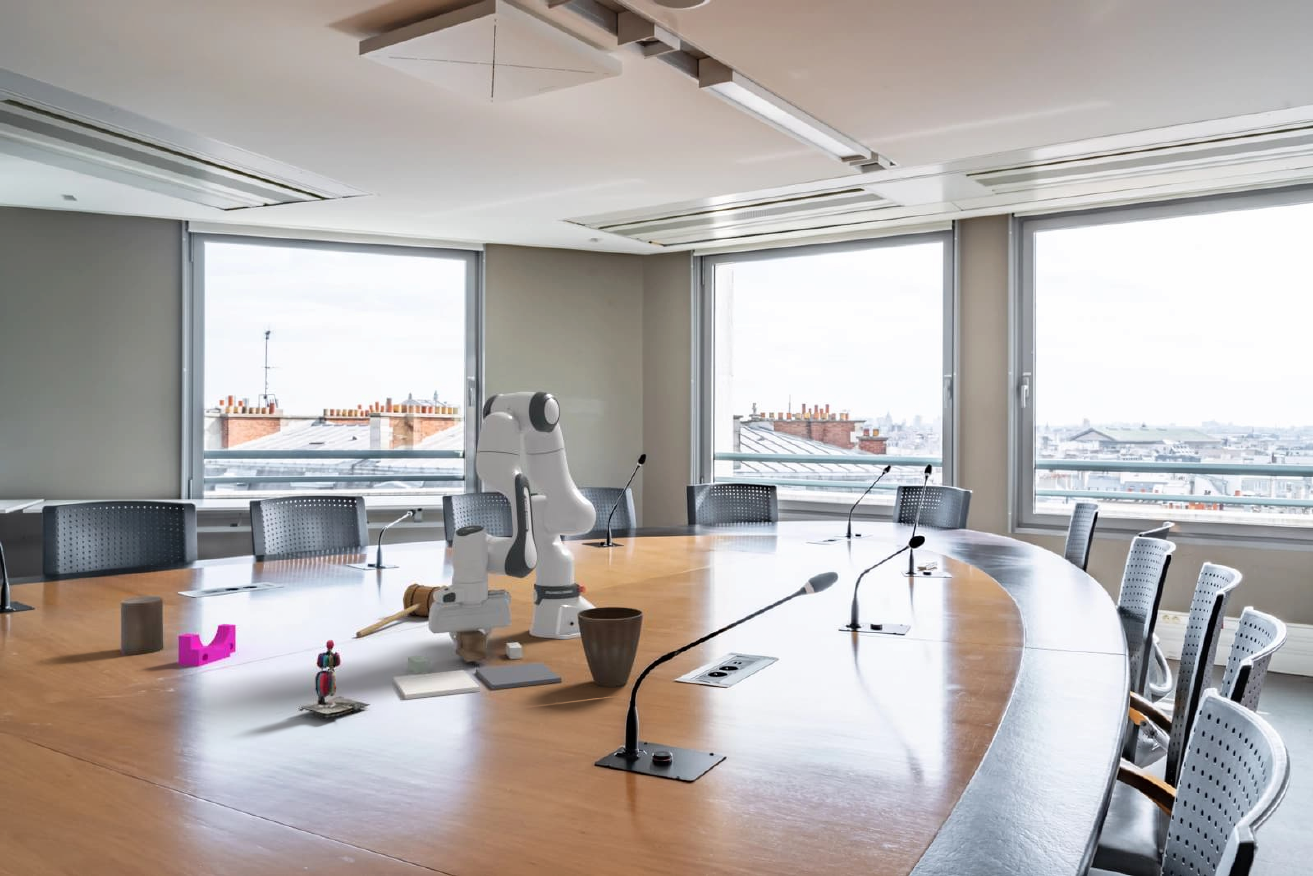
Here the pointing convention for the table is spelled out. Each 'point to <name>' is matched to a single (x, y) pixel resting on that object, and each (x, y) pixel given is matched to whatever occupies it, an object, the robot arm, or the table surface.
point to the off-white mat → (435, 684)
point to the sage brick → (418, 664)
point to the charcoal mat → (517, 675)
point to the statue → (330, 688)
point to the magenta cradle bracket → (207, 647)
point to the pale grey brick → (514, 650)
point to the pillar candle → (141, 625)
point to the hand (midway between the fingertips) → (470, 647)
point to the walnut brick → (471, 645)
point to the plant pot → (610, 642)
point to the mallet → (409, 605)
